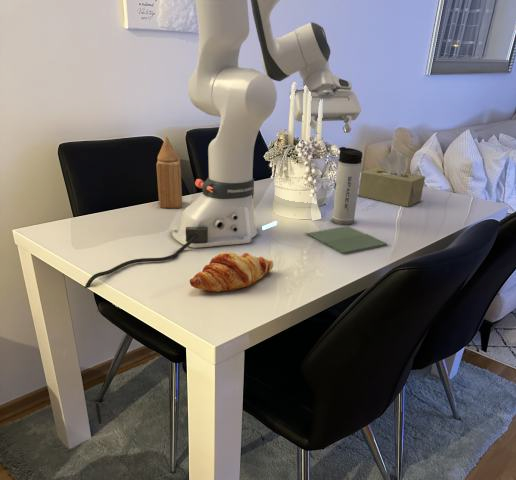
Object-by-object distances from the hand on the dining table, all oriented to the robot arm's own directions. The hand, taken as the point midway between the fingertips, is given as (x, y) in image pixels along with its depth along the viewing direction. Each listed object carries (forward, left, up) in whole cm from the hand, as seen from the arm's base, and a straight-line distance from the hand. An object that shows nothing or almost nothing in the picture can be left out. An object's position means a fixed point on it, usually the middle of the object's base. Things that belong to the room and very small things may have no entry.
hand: (333, 131), depth 143 cm
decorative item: (-40, +25, -23) cm, 53 cm away
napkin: (-11, -23, -23) cm, 34 cm away
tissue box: (+29, +3, -23) cm, 37 cm away
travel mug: (-1, -10, -23) cm, 25 cm away
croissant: (-49, -34, -23) cm, 64 cm away
